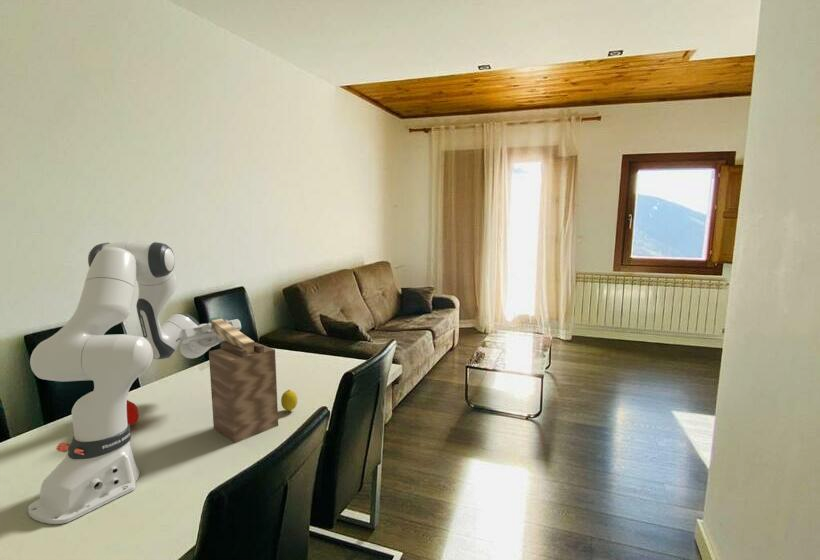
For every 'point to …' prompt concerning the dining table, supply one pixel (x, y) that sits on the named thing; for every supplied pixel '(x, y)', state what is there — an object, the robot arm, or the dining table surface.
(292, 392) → the lemon
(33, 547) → the dining table surface
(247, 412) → the walnut mount
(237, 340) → the oak bar
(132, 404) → the tomato
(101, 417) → the robot arm
